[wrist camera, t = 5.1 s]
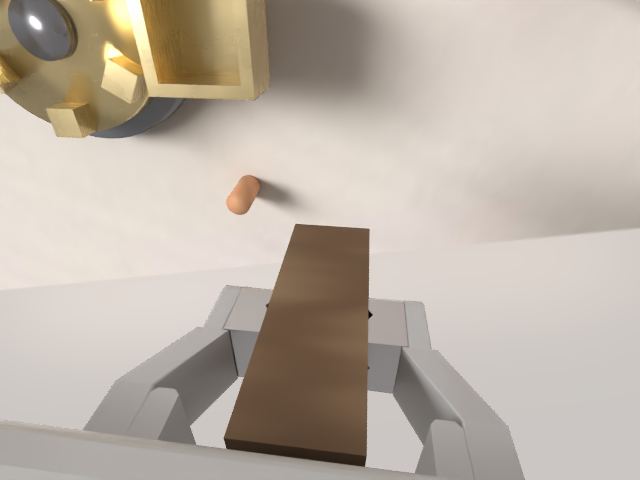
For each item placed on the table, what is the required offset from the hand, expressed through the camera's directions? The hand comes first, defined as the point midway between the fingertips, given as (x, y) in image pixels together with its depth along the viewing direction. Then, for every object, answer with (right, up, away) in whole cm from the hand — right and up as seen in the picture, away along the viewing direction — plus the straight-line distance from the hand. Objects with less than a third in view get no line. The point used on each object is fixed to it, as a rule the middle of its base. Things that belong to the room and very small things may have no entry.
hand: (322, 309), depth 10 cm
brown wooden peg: (0, +1, +2) cm, 3 cm away
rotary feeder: (-11, +14, +10) cm, 20 cm away
